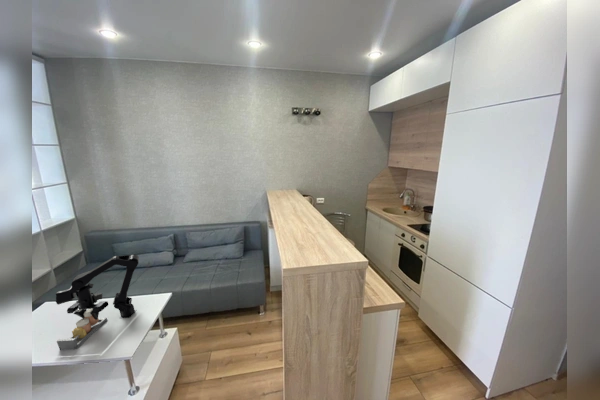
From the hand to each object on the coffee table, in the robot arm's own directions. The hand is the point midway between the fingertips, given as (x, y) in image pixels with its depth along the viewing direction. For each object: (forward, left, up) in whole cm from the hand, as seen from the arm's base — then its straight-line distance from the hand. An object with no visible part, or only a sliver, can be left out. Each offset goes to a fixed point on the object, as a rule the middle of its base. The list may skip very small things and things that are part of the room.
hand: (92, 319), depth 130 cm
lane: (0, +6, -5) cm, 8 cm away
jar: (0, 0, -3) cm, 3 cm away
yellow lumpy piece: (0, +10, -4) cm, 10 cm away
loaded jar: (0, +5, -5) cm, 7 cm away
